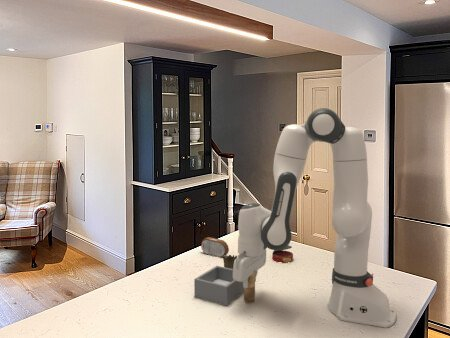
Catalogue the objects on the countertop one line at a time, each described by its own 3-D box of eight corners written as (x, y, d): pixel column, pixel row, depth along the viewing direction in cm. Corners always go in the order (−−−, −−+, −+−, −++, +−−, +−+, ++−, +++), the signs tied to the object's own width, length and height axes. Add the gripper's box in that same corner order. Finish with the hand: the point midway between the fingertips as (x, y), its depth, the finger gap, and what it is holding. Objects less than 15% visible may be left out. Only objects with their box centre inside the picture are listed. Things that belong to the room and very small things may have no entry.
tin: (229, 257, 190) (229, 240, 189) (225, 259, 187) (225, 242, 186) (203, 251, 197) (203, 235, 196) (200, 253, 195) (200, 237, 194)
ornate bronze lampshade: (233, 280, 162) (233, 262, 161) (219, 276, 166) (219, 258, 165) (243, 275, 167) (244, 257, 167) (230, 271, 172) (230, 253, 171)
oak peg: (256, 299, 144) (257, 268, 143) (251, 303, 141) (252, 272, 139) (247, 297, 146) (247, 266, 145) (242, 301, 143) (242, 269, 141)
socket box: (247, 289, 153) (247, 272, 152) (226, 305, 139) (226, 287, 138) (216, 282, 160) (216, 265, 159) (194, 296, 146) (194, 279, 145)
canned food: (275, 271, 184) (265, 253, 183) (278, 262, 193) (269, 244, 193) (296, 263, 180) (286, 244, 179) (299, 254, 189) (289, 236, 189)
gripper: (244, 258, 131) (244, 297, 132) (269, 242, 148) (268, 277, 150) (228, 254, 134) (228, 293, 136) (254, 239, 151) (254, 273, 153)
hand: (249, 284), depth 143 cm, fingers closed on oak peg, 4 cm apart
